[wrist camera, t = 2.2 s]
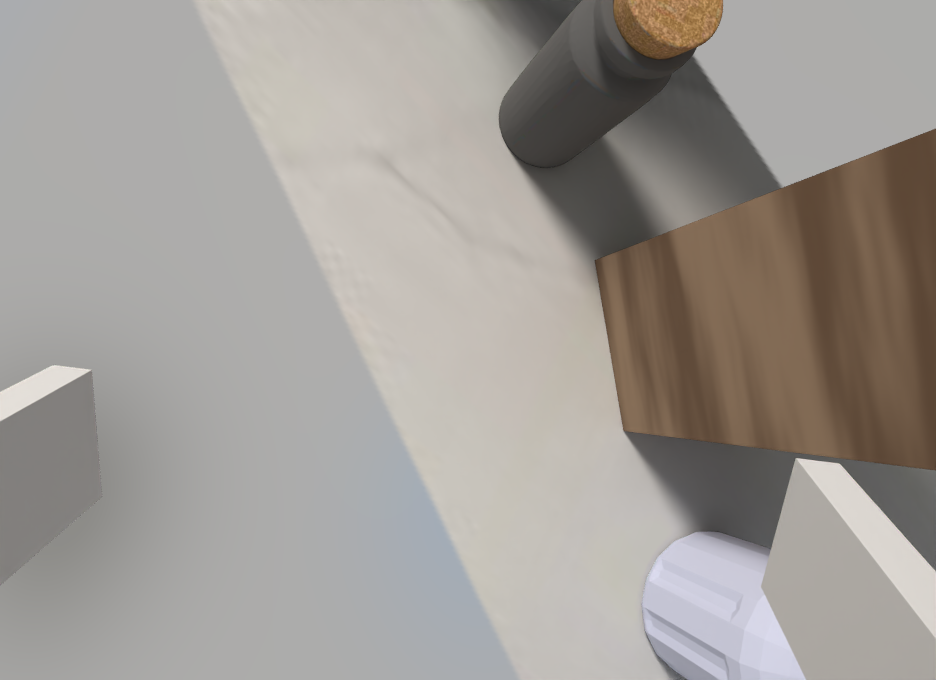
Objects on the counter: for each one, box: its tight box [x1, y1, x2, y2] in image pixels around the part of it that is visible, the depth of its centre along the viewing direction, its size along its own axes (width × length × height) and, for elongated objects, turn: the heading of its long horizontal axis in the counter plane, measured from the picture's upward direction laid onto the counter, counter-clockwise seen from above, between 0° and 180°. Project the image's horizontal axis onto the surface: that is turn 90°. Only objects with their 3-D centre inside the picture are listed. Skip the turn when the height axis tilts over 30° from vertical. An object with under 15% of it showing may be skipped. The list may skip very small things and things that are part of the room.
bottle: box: [499, 0, 723, 168], centre depth 36 cm, size 6×6×15 cm
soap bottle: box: [642, 532, 806, 680], centre depth 33 cm, size 9×9×25 cm
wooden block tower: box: [595, 129, 936, 470], centre depth 28 cm, size 11×11×36 cm
